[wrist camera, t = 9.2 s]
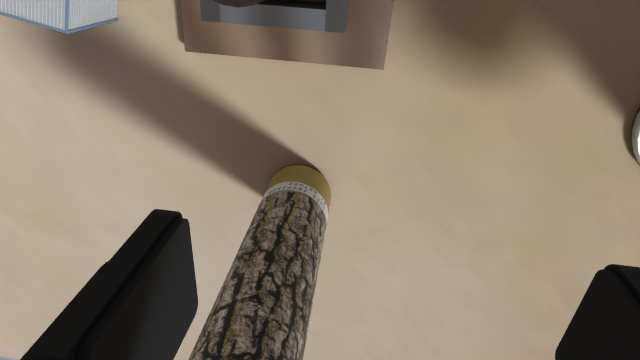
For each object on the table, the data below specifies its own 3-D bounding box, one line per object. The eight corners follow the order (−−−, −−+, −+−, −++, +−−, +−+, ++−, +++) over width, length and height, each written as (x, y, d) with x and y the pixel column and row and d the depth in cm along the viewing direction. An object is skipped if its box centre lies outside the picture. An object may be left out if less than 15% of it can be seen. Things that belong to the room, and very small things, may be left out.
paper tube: (261, 168, 43) (149, 382, 22) (323, 156, 42) (268, 374, 20) (280, 220, 46) (198, 453, 25) (338, 211, 45) (304, 452, 23)
